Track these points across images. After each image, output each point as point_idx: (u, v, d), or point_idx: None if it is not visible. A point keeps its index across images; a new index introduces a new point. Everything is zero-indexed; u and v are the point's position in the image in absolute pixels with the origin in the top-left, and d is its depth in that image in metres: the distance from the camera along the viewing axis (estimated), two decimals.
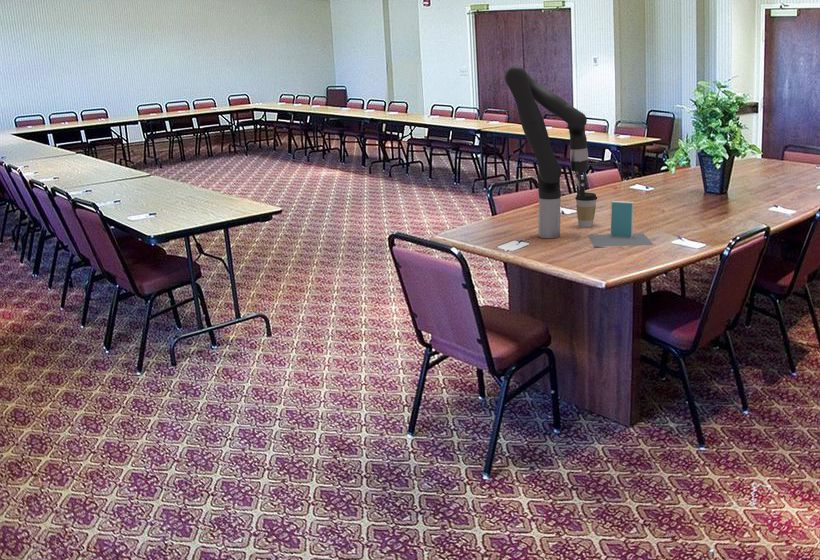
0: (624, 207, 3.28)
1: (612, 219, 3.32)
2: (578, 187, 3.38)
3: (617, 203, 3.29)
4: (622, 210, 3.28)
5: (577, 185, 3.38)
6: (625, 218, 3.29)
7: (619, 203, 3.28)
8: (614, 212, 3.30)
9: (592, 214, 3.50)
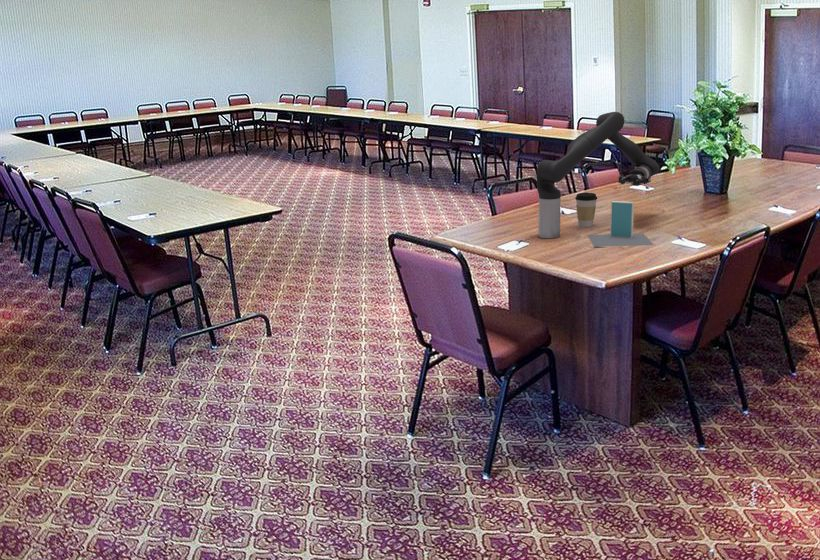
0: (624, 207, 3.28)
1: (612, 219, 3.32)
2: (624, 180, 3.39)
3: (617, 203, 3.29)
4: (622, 210, 3.28)
5: None
6: (625, 218, 3.29)
7: (619, 203, 3.28)
8: (614, 212, 3.30)
9: (592, 214, 3.50)
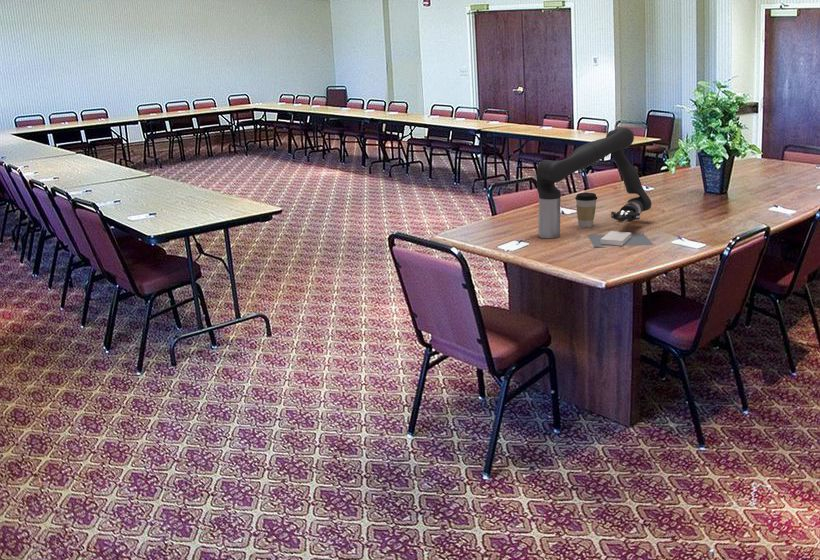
0: None
1: None
2: None
3: (607, 244, 3.21)
4: None
5: None
6: None
7: (609, 244, 3.20)
8: None
9: (592, 214, 3.50)
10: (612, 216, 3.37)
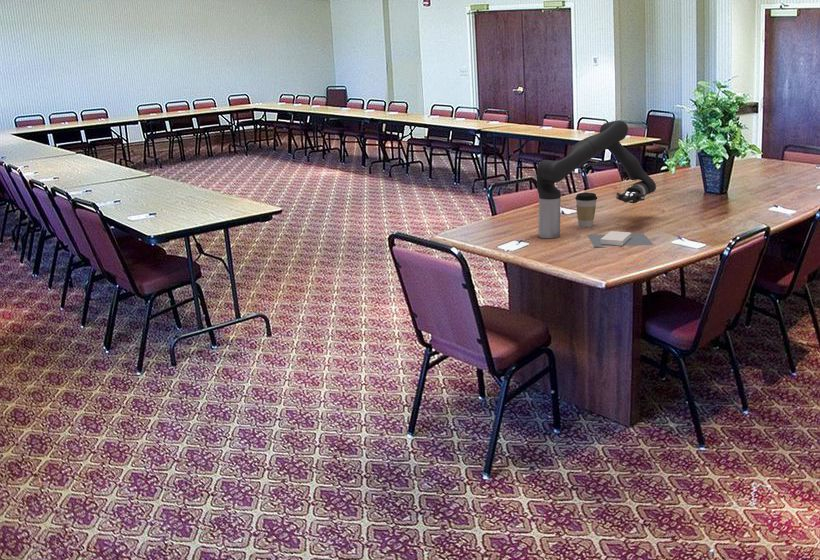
0: None
1: None
2: None
3: (607, 244, 3.21)
4: None
5: None
6: None
7: (609, 244, 3.20)
8: None
9: (592, 214, 3.50)
10: (617, 197, 3.42)
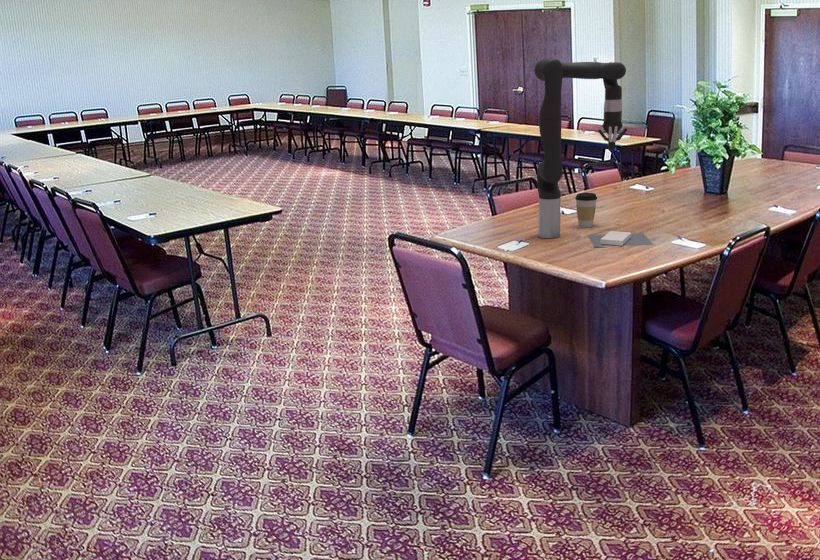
0: None
1: None
2: None
3: (607, 244, 3.21)
4: None
5: None
6: None
7: (609, 244, 3.20)
8: None
9: (592, 214, 3.50)
10: (599, 133, 3.39)
